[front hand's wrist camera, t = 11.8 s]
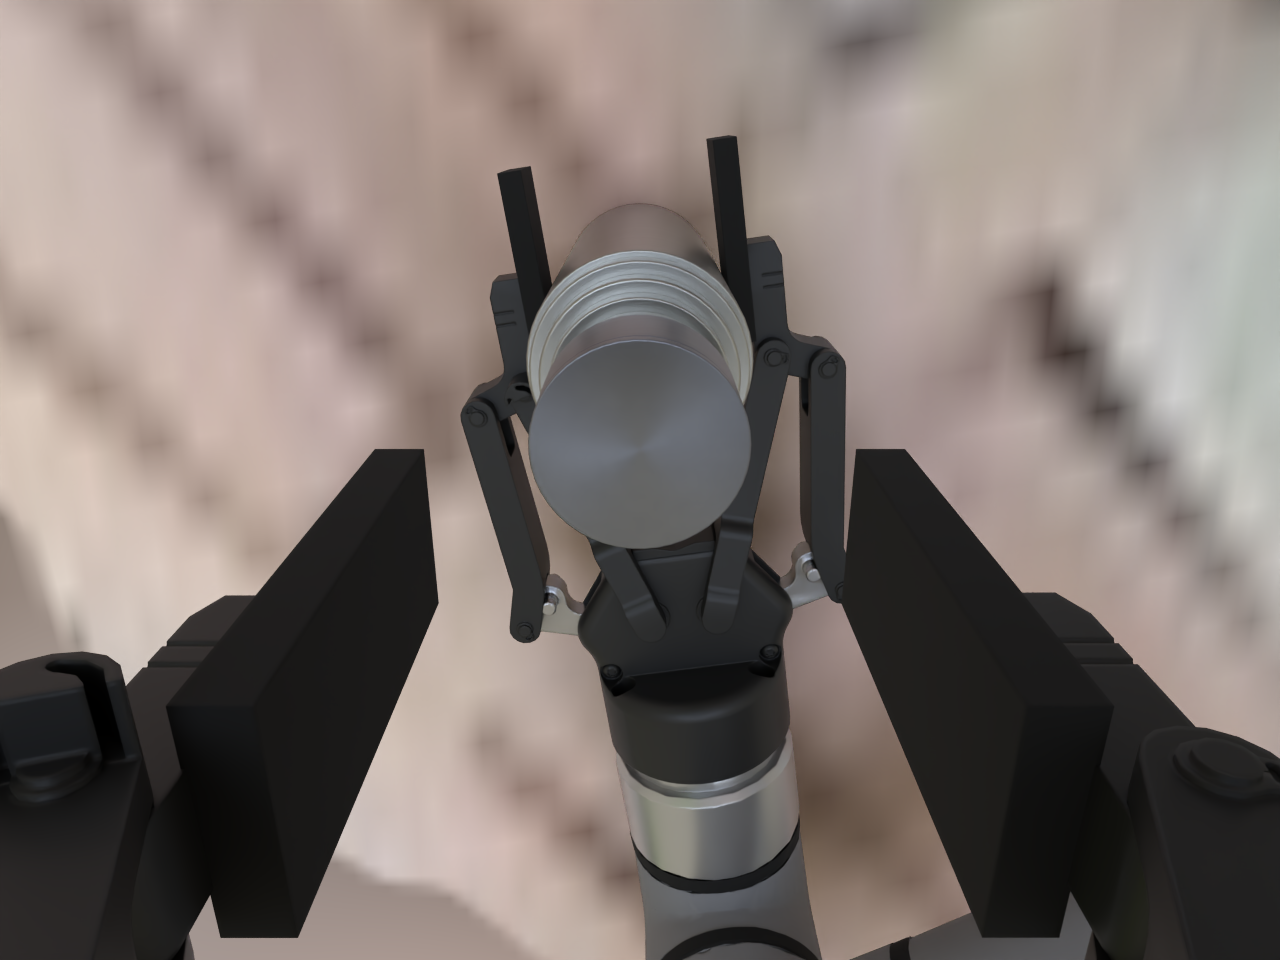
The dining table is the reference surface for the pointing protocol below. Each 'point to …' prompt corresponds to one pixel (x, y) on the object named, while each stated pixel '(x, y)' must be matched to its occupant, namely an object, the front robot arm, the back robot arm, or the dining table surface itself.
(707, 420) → the cap
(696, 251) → the bottle
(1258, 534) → the dining table surface
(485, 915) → the dining table surface
